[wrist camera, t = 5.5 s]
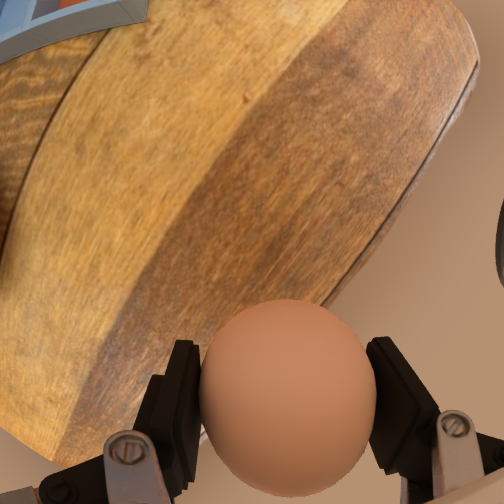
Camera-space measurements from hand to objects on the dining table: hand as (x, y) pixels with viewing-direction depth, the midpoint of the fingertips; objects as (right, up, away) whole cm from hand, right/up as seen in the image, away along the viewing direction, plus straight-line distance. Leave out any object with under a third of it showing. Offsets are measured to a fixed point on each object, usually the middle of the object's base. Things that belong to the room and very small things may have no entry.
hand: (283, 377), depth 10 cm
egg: (0, +1, +3) cm, 3 cm away
